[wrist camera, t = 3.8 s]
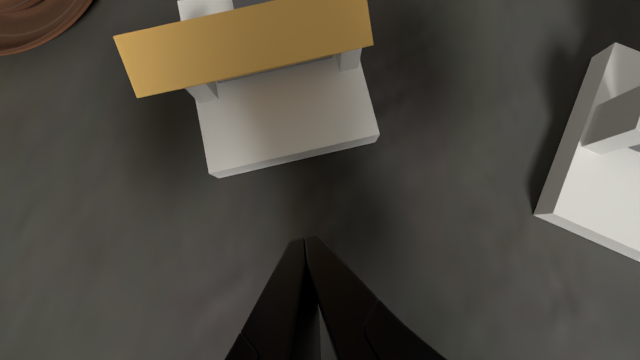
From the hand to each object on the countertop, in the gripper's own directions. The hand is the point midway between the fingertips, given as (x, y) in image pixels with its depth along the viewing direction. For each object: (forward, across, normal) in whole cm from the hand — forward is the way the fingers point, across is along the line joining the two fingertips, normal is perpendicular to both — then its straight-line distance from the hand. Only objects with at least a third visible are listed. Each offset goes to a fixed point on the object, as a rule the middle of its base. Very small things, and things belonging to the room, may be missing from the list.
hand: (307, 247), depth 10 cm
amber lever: (+11, 0, +3) cm, 11 cm away
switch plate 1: (+13, 0, +1) cm, 13 cm away
